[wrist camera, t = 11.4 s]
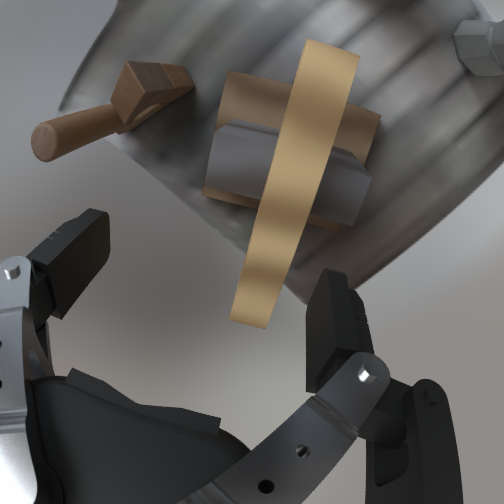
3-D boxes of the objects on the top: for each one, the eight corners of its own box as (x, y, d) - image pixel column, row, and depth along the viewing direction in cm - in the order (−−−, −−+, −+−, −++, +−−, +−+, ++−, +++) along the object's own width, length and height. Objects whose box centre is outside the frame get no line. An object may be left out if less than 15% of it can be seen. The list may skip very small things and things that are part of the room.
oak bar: (303, 47, 19) (307, 38, 15) (346, 61, 20) (360, 56, 15) (237, 287, 32) (228, 319, 28) (269, 295, 32) (265, 329, 28)
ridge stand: (231, 71, 31) (204, 66, 21) (376, 113, 32) (413, 128, 22) (205, 189, 40) (175, 232, 30) (335, 225, 40) (349, 278, 30)
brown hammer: (196, 87, 33) (123, 96, 17) (131, 130, 36) (41, 172, 21) (182, 64, 31) (101, 58, 16) (118, 109, 35) (23, 140, 19)
